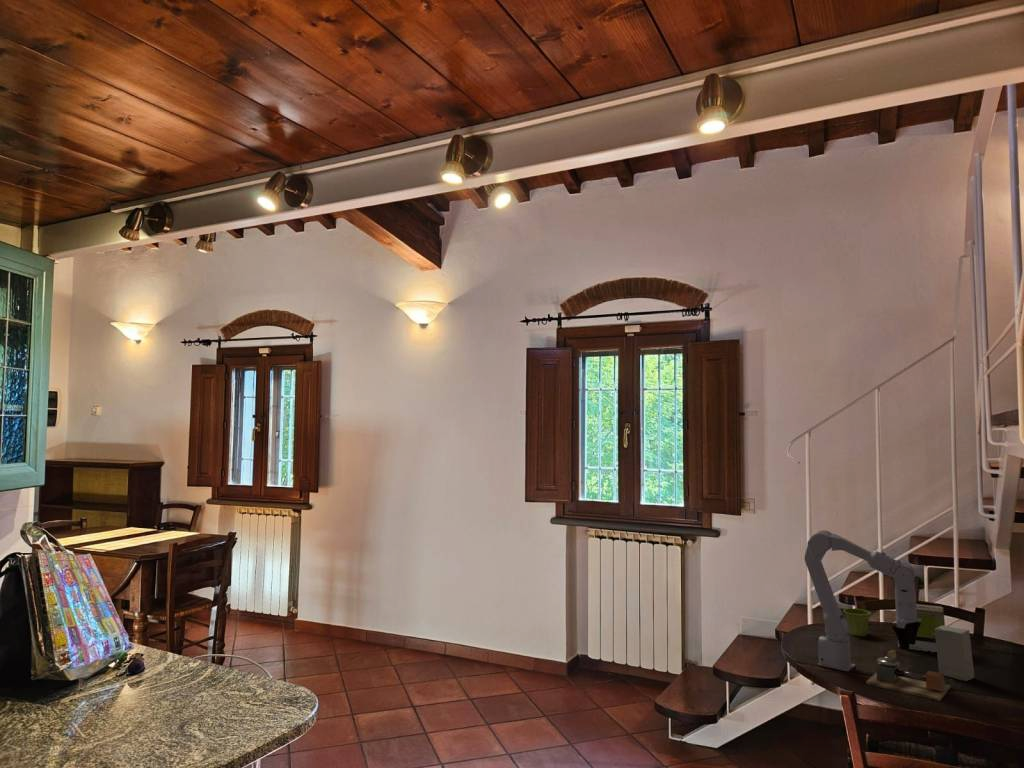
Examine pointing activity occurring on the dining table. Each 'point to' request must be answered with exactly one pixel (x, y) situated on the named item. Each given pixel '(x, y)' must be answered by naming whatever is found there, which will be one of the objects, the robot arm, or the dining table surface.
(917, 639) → the tea box
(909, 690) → the oak board
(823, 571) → the robot arm
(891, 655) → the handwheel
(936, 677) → the brown blocky piece
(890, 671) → the eye block
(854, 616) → the plant pot
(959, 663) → the skincare box
